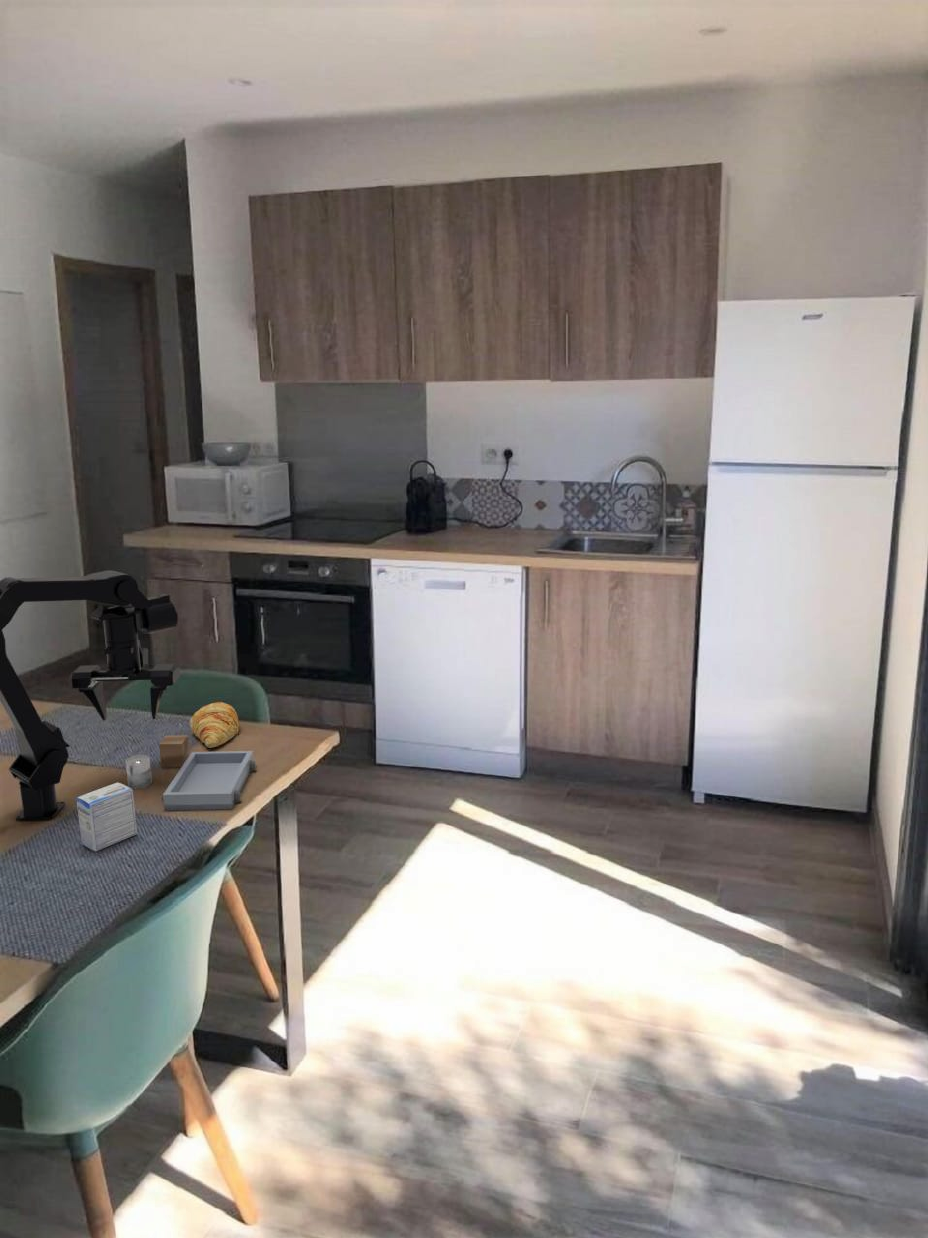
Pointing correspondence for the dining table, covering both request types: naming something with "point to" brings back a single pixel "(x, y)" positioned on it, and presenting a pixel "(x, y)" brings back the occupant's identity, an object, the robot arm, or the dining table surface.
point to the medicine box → (106, 816)
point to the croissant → (215, 724)
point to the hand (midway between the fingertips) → (129, 719)
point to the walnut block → (174, 751)
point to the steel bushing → (138, 771)
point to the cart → (209, 781)
